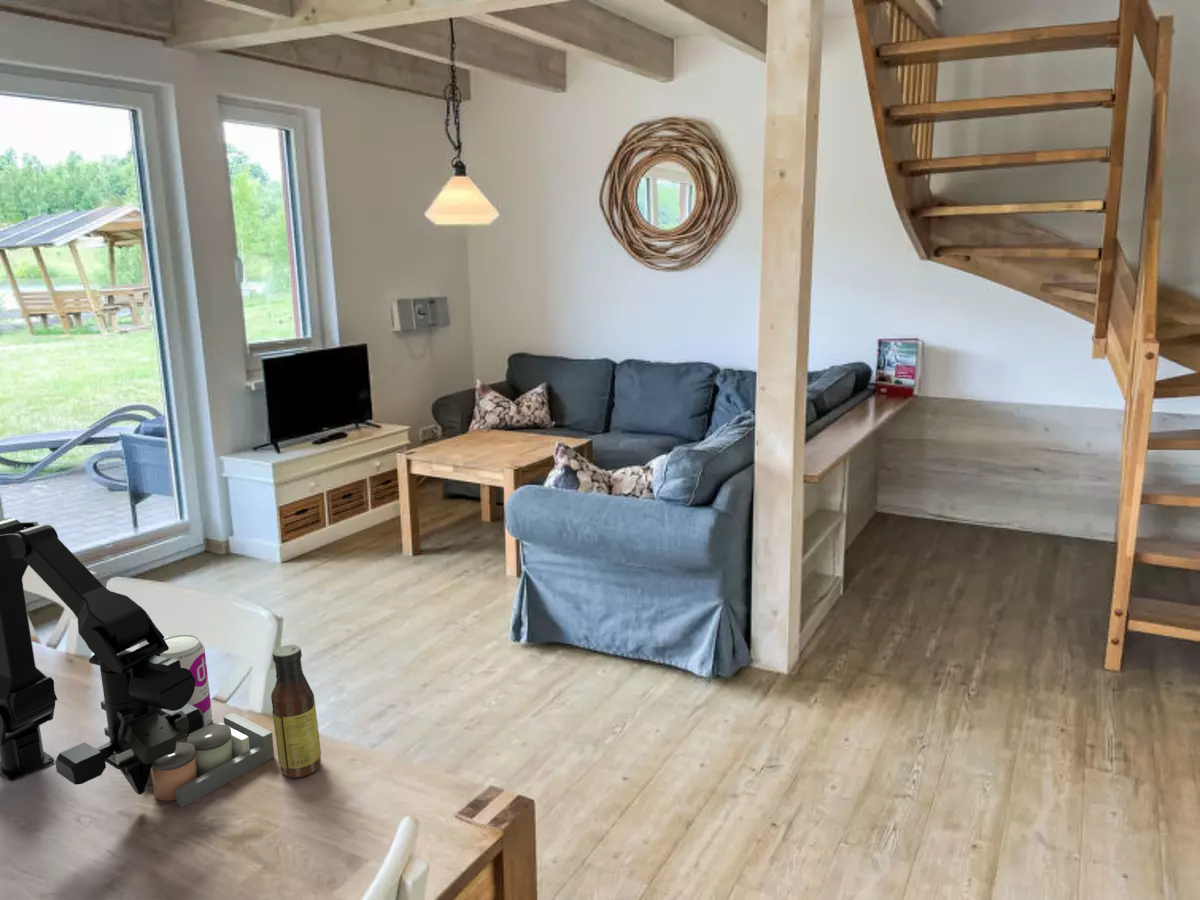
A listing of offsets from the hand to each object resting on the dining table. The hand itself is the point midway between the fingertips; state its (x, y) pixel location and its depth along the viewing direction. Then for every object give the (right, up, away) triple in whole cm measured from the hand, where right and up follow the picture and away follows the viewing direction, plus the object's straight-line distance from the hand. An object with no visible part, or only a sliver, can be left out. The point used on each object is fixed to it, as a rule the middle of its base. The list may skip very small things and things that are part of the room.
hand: (140, 793), depth 131 cm
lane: (+6, 0, +9) cm, 10 cm away
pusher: (+8, +1, +12) cm, 15 cm away
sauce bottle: (+20, 0, +10) cm, 22 cm away
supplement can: (-3, +3, +22) cm, 22 cm away
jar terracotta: (+3, -1, +5) cm, 6 cm away
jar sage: (+6, 0, +10) cm, 12 cm away
